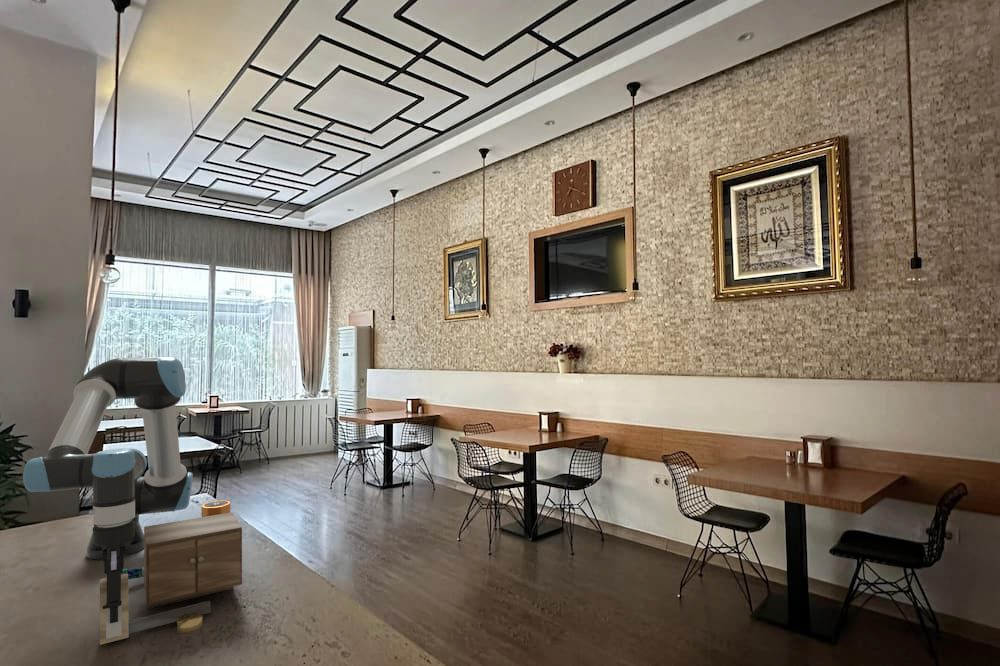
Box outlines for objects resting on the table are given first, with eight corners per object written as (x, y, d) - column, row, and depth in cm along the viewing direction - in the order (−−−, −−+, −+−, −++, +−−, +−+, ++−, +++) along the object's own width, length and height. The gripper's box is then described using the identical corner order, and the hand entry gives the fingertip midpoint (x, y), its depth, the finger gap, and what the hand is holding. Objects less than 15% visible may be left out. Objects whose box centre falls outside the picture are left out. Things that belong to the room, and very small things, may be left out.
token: (176, 627, 126) (176, 616, 126) (201, 621, 129) (201, 610, 129) (178, 636, 122) (178, 625, 122) (203, 630, 125) (203, 619, 125)
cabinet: (144, 601, 139) (144, 526, 139) (232, 581, 150) (232, 512, 150) (146, 628, 125) (146, 546, 126) (243, 604, 137) (242, 528, 137)
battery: (225, 579, 151) (225, 505, 152) (197, 581, 150) (197, 507, 150) (234, 569, 158) (233, 498, 159) (207, 571, 157) (206, 499, 158)
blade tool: (100, 634, 121) (100, 579, 121) (208, 607, 133) (208, 556, 133) (99, 644, 117) (99, 587, 117) (211, 615, 129) (211, 563, 129)
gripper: (94, 514, 126) (94, 618, 126) (90, 537, 111) (90, 655, 111) (134, 508, 130) (134, 609, 130) (135, 530, 115) (135, 643, 115)
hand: (114, 630), depth 120 cm, fingers closed on blade tool, 5 cm apart
